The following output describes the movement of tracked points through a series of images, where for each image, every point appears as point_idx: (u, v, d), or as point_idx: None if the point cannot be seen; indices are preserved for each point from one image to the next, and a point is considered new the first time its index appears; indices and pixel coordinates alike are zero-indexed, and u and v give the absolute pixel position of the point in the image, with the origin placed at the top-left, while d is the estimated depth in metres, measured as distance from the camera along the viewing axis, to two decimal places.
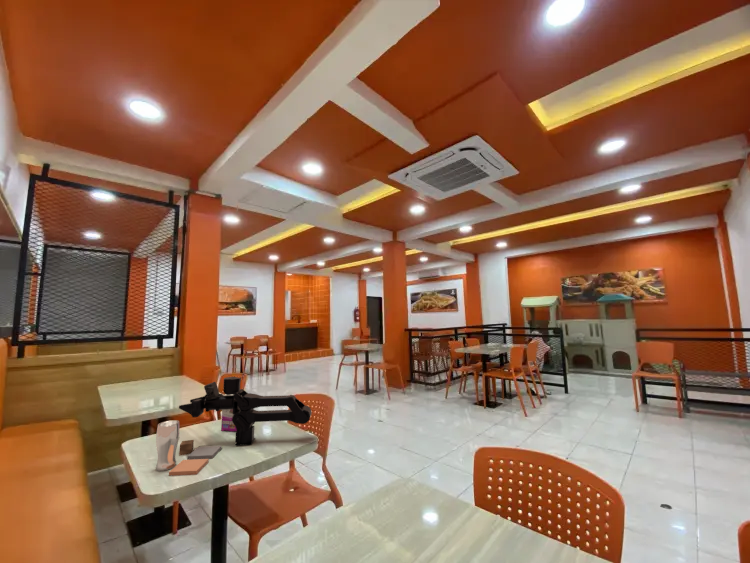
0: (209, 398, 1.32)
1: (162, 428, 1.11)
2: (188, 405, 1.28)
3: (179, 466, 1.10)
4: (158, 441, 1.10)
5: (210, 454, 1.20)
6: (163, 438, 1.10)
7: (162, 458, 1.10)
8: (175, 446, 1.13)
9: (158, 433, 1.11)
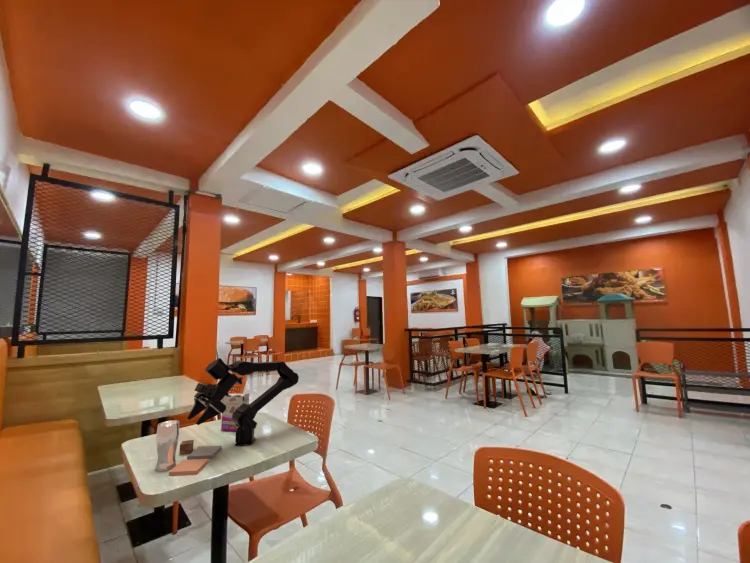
0: (213, 393, 1.23)
1: (162, 428, 1.11)
2: (205, 413, 1.18)
3: (179, 466, 1.10)
4: (158, 441, 1.10)
5: (210, 454, 1.20)
6: (163, 438, 1.10)
7: (162, 458, 1.10)
8: (175, 446, 1.13)
9: (158, 433, 1.11)
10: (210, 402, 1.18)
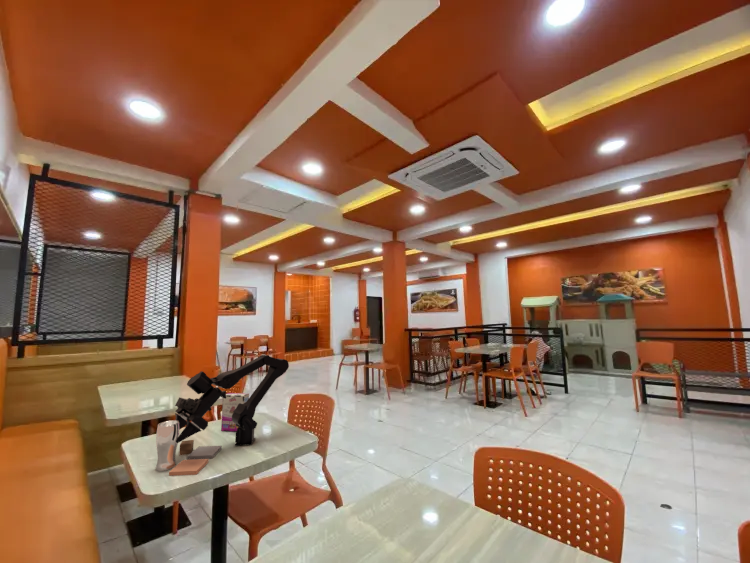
0: (195, 409, 1.18)
1: (162, 428, 1.11)
2: (186, 430, 1.13)
3: (179, 466, 1.10)
4: (158, 441, 1.10)
5: (210, 454, 1.20)
6: (163, 438, 1.10)
7: (162, 458, 1.10)
8: (175, 446, 1.13)
9: (158, 433, 1.11)
10: (191, 418, 1.13)
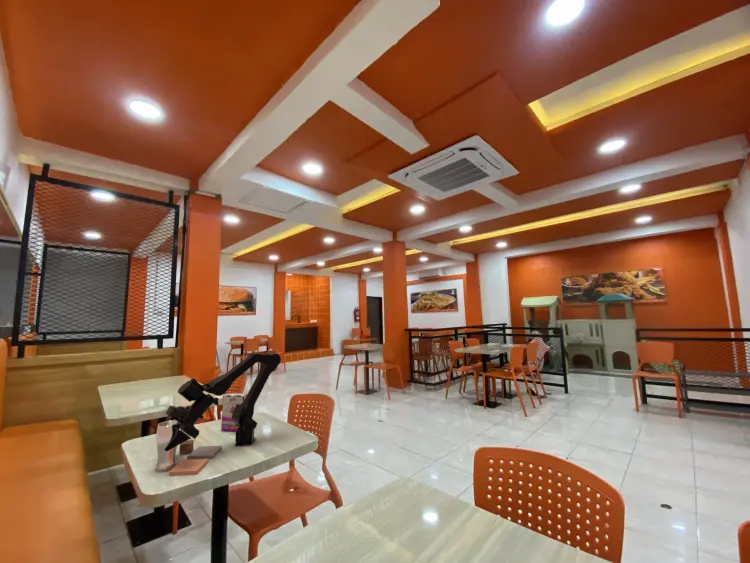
0: (186, 417, 1.16)
1: (162, 428, 1.11)
2: (175, 438, 1.11)
3: (179, 466, 1.10)
4: (158, 441, 1.10)
5: (210, 454, 1.20)
6: (163, 438, 1.10)
7: (162, 458, 1.10)
8: None
9: (158, 433, 1.11)
10: (181, 427, 1.11)
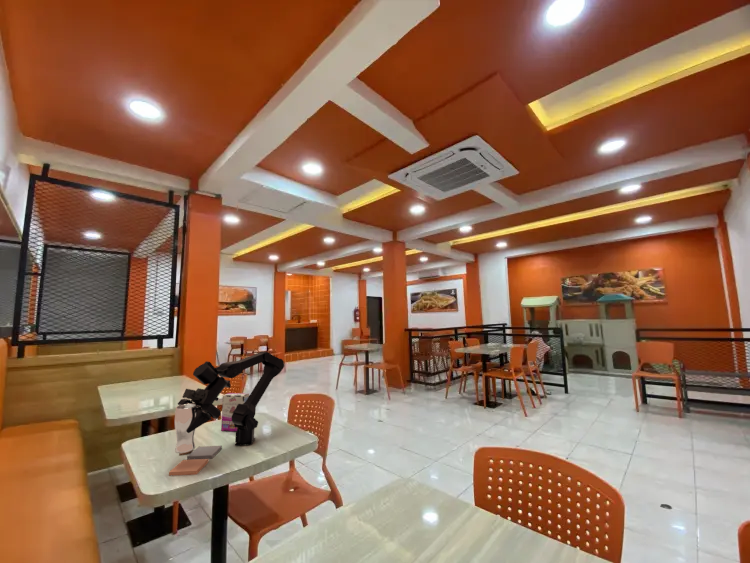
0: (204, 399, 1.16)
1: (183, 411, 1.10)
2: (197, 420, 1.12)
3: (179, 466, 1.10)
4: (179, 424, 1.10)
5: (210, 454, 1.20)
6: (184, 420, 1.10)
7: (183, 440, 1.10)
8: None
9: (178, 416, 1.10)
10: (204, 408, 1.12)
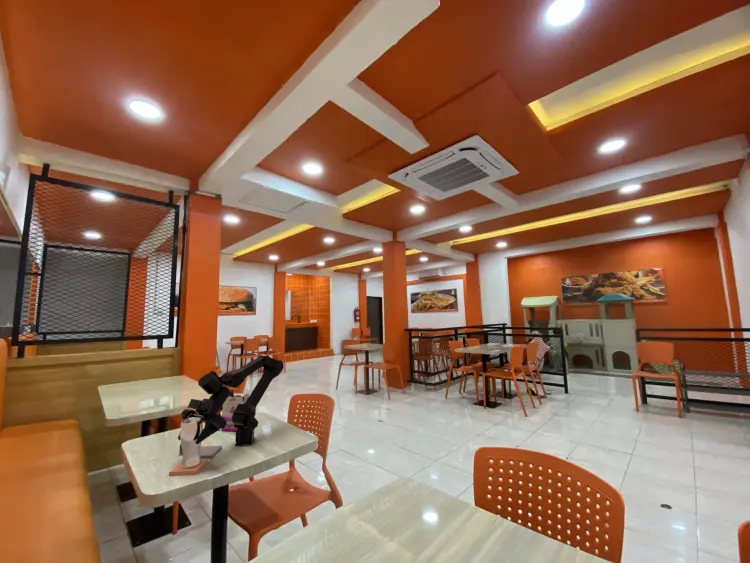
0: (209, 409, 1.16)
1: (189, 425, 1.10)
2: (205, 431, 1.11)
3: (179, 466, 1.10)
4: (185, 438, 1.09)
5: (210, 454, 1.20)
6: (191, 435, 1.10)
7: (191, 454, 1.10)
8: None
9: (185, 430, 1.10)
10: (211, 418, 1.12)
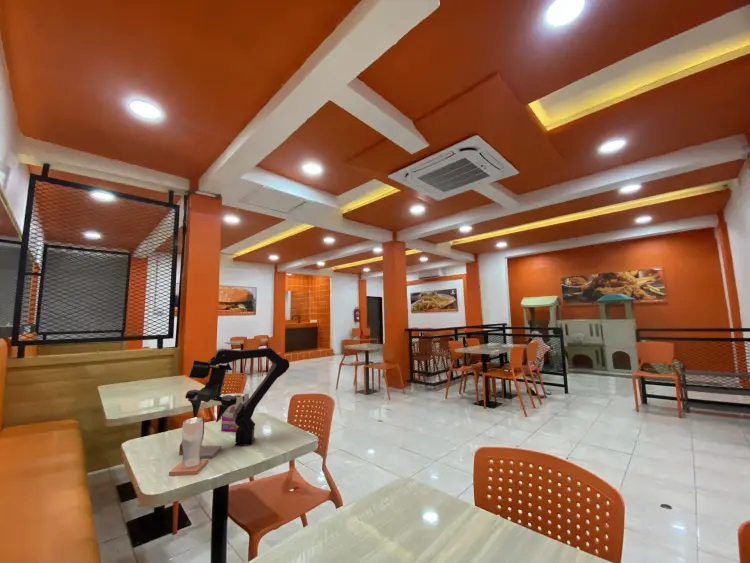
0: None
1: (191, 425, 1.10)
2: (222, 411, 1.27)
3: (179, 466, 1.10)
4: (187, 438, 1.09)
5: (210, 454, 1.20)
6: (193, 435, 1.10)
7: (191, 455, 1.10)
8: None
9: (186, 430, 1.10)
10: (225, 404, 1.26)
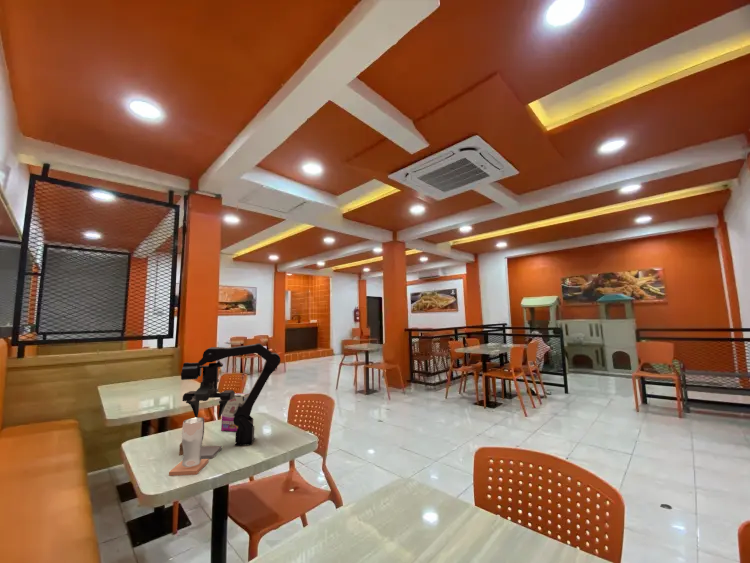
0: None
1: (191, 425, 1.10)
2: (222, 406, 1.30)
3: (179, 466, 1.10)
4: (187, 438, 1.09)
5: (210, 454, 1.20)
6: (193, 435, 1.10)
7: (191, 455, 1.10)
8: None
9: (186, 430, 1.10)
10: (224, 399, 1.28)
